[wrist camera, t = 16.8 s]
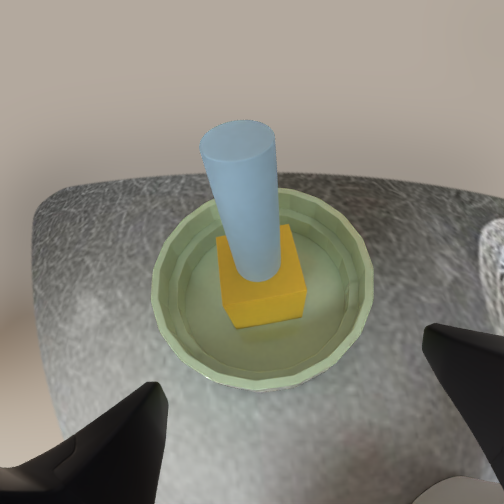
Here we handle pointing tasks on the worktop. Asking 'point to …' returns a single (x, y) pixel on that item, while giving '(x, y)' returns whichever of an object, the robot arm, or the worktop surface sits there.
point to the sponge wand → (252, 226)
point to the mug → (462, 492)
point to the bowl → (275, 334)
